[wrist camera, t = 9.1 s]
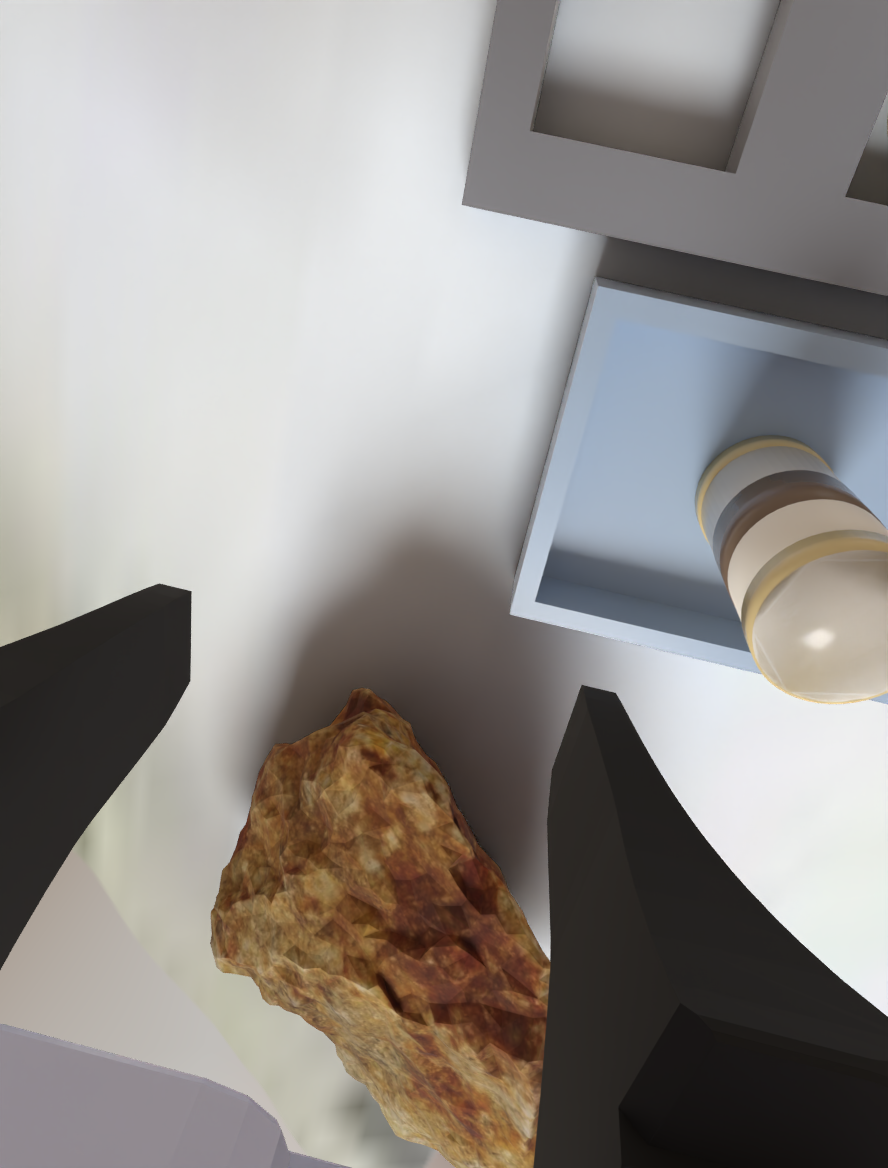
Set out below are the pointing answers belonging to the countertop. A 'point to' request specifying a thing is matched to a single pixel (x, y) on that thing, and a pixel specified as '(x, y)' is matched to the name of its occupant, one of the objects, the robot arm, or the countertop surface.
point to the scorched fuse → (800, 568)
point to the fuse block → (697, 194)
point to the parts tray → (683, 459)
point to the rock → (391, 935)
